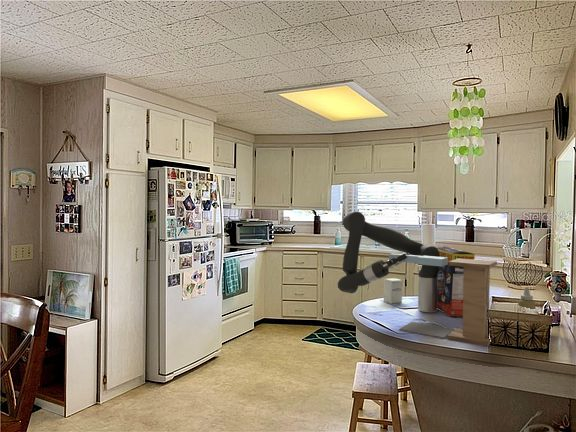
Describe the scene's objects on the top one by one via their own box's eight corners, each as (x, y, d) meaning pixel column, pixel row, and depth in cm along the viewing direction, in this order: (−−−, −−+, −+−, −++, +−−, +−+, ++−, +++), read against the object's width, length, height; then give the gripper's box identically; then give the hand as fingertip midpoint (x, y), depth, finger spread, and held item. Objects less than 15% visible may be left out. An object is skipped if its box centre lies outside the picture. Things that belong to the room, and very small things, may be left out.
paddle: (393, 259, 197) (394, 253, 197) (447, 264, 183) (447, 257, 183) (386, 261, 190) (386, 254, 190) (441, 266, 176) (442, 259, 176)
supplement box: (391, 303, 234) (391, 280, 234) (383, 301, 241) (383, 278, 241) (402, 302, 237) (402, 279, 236) (394, 300, 244) (394, 277, 243)
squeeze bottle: (531, 331, 183) (532, 289, 183) (512, 327, 190) (512, 286, 189) (540, 328, 188) (541, 287, 187) (521, 324, 194) (521, 284, 194)
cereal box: (472, 318, 205) (476, 251, 204) (449, 317, 205) (452, 250, 204) (450, 306, 231) (453, 246, 231) (430, 305, 231) (432, 245, 231)
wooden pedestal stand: (457, 330, 184) (458, 258, 183) (495, 337, 175) (496, 261, 174) (447, 338, 172) (448, 261, 172) (487, 346, 164) (489, 264, 163)
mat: (411, 322, 196) (411, 321, 196) (455, 330, 185) (455, 328, 185) (399, 330, 184) (399, 328, 184) (444, 338, 173) (444, 337, 173)
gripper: (365, 265, 193) (397, 248, 184) (378, 262, 205) (409, 246, 196) (372, 280, 191) (405, 264, 182) (385, 276, 203) (417, 261, 194)
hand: (407, 255), depth 189 cm, fingers closed on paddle, 3 cm apart
